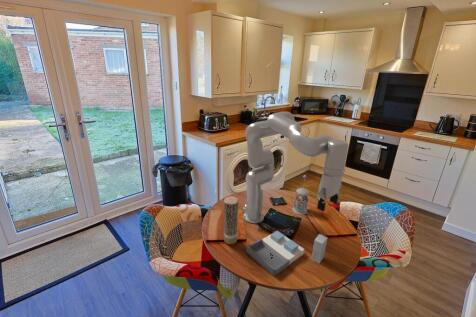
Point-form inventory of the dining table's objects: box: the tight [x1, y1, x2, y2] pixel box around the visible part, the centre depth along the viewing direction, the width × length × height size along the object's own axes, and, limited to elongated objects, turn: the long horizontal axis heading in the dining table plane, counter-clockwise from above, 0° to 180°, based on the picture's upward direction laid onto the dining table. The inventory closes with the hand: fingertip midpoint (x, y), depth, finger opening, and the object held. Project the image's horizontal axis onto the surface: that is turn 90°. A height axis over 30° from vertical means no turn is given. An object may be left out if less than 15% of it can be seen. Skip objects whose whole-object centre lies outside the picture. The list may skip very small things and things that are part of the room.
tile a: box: [284, 239, 300, 254], centre depth 120 cm, size 5×5×2 cm
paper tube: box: [223, 195, 239, 245], centre depth 125 cm, size 7×7×25 cm
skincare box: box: [311, 233, 328, 264], centre depth 117 cm, size 6×4×12 cm
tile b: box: [270, 230, 285, 243], centre depth 127 cm, size 5×5×2 cm
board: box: [261, 234, 305, 265], centre depth 124 cm, size 18×12×3 cm, turn 39°
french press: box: [290, 174, 310, 215], centre depth 154 cm, size 10×12×25 cm
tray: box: [245, 238, 290, 277], centre depth 117 cm, size 19×10×4 cm, turn 39°
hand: (327, 206), depth 106 cm, fingers open, 9 cm apart
